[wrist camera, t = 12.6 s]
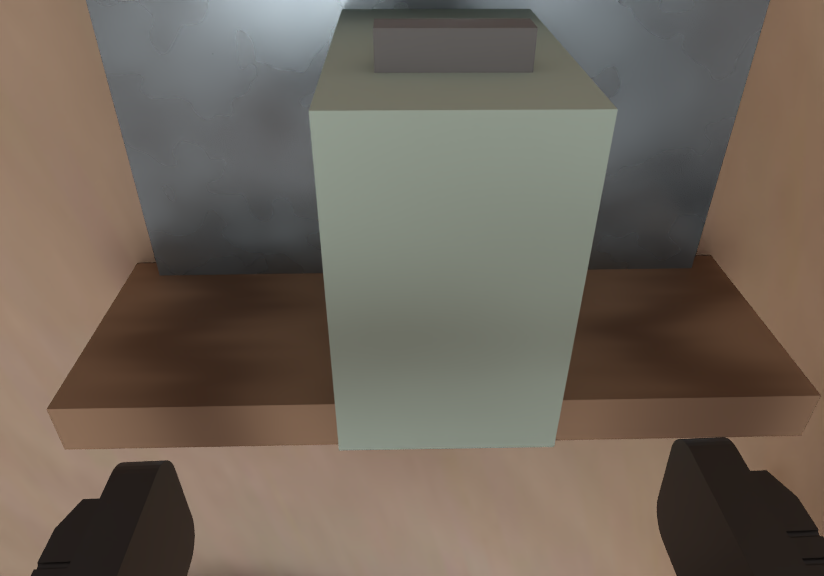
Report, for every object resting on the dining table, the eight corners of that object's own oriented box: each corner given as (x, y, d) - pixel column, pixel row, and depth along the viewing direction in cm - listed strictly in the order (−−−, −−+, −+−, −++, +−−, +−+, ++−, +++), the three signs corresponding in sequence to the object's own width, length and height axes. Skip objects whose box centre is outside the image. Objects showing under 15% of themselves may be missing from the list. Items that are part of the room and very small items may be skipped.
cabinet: (533, -25, 16) (627, 58, 10) (504, 263, 21) (554, 447, 15) (339, -25, 16) (303, 59, 10) (355, 265, 21) (338, 450, 15)
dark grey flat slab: (786, -114, 16) (844, -110, 14) (683, 256, 22) (712, 296, 20) (70, -113, 16) (21, -108, 14) (166, 262, 22) (143, 305, 20)
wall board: (710, 255, 22) (821, 395, 17) (700, 290, 23) (801, 435, 18) (137, 263, 22) (46, 409, 16) (147, 298, 23) (64, 449, 17)
